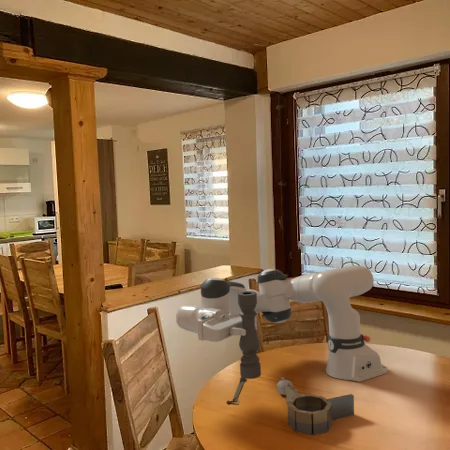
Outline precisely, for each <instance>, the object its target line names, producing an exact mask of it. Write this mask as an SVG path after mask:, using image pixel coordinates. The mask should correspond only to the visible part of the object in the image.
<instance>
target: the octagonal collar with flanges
mask: <svg viewBox="0 0 450 450" xmlns="http://www.w3.org/2000/svg"><path fill="white" fill-rule="evenodd" d="M285 396H286V398H285V399H286V400H285V401H286V404H287V418H288V419H287V421H288V425H289V426H290V428H292V429H293V430H294V431H295V432H297V433H300V434H306V435H309V436H311V435H313V436H315V435H319V434H323V433H327V432H329V431H330V429H331V427H332V426H333V420H337V419H342V418H346V417H351V416H355V396H354V394H352V393H349V394H345V395H340V396H335V397H330V398H329V397H328V398H326V396H325V397H324V396H323V395H316V394H310V393H308V394H307V393H306V394H301V393H300V392H299V391H298V390H297V389H296V388H294V386H293V387H292V386H291V385H290V384H288V385H286V395H285Z"/></svg>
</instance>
